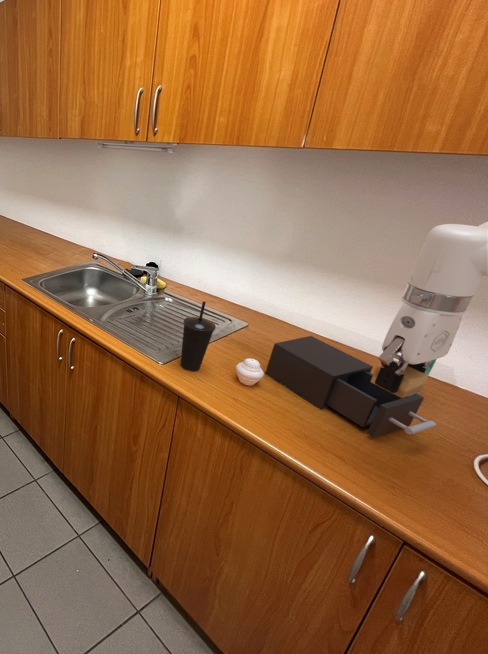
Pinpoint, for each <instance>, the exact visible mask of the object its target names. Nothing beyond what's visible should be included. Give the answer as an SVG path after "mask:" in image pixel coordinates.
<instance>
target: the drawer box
mask: <svg viewBox="0 0 488 654" xmlns="http://www.w3.org/2000/svg"><path fill="white" fill-rule="evenodd" d="M373 367H374V366H373V365H372V364H369V363H367V362H365V361H363V360H361V359H359V358H357V357H355V356H352V355H350V354H348V353H347V352H344V351H342V350H341V349H338V348H337V347H334V346H332V345H330V344H328V343H327V342H325V341H323V340H320V339H319V338H317V337H314V336H312V335H307V336H303V337H298V338H293V339H289V340H284V341H279V342H275V343H274V344H273V347H272V350H271V353H270V357H269V360H268V362H267V365H266V368H265V373H264V375H266V376H268V377H269V378H271V379H272V380H274V381H275V382H277V383H279V384H280V385H282V386H283V387H284V388H286V389H288V390H289V391H291V392H292V393H294V394H296V395H297V396H299V397H300V398H301V399H303V400H305V401H306V402H308V403H309V404H311V405H312V406H315V407H316V408H317V409H319V410H324V409H328V408H331V407H330V406H328V405H327V404H325V402H326V400H327V397H328V395H329V392H330V390H331V387H332V385H333V382H334V380H335V378H338V377H342V376H346V375H350V374H354V373H358V372H362V371H368V372H370V373H372V369H373Z"/></svg>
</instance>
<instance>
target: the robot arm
mask: <svg viewBox="0 0 488 654" xmlns="http://www.w3.org/2000/svg"><path fill="white" fill-rule="evenodd" d="M485 276H488V221H486V222H483V223H481V224H479V225H477V226H476V225H469V224H462V223H461V224H460V223H444V224H438V225H436V226H434V227H432V228H431V229H430V230H429V232H428V234H427V236H426V238H425V241H424V243H423V245H422V248H421V250H420V252H419V255H418V257H417V260H416V262H415V265H414V267H413V270H412V272H411V274H410V276H409V279H408V282H407V284H406V287H405V289H404V291H403V293H402V296H401V299H400V300H401V301H402V302H403V303H402V305H401V306H400V308H399V310H398V311H397V313H396V315H395V317H394V318H393V320H392V322H391V324H390V326H389V328H388V330H387V332H386V335H385V337H384V339H383V342H382V345H381V346H382V347H381V350H382V353H381V354H379V356H378V360H379V361H380V364H379V365H380V367H381V369H380V371H379V373H378V376H377V378H376V380H375V384H376V385H378V386H380V387H382V388H384V389H386V390H388V391H390V392H392V393H396V392H397V391H398V389H399V387H400V384H401V382H402V380H403V378H404V376H405V375H403V374H402V373H403V371H404V370H405V368H406V367H407V366H409V367H411V368H413V369H415V370H418V371H420V372H422V373H425V371H426V369H425V368H427V367H428V366H429V365H430V362H431V360H434V359H440V358H444V357H446V356H447V355H448V354H449V352H450V349H451V348H452V345H453V342H454V340H455V338H456V335H457V332H458V330H459V328H460V324H461V322H462V320H463V319H462V318H463V315H465V313H466V311H467V309H468V307H469V305H470V303H471V301H472V299H473V296H474V294H475V292H476V291H477V288H478V286H479V284H480V283H481V280H482V279H483V277H485ZM399 353H400V354H402V356H403V357H402V356H401V355H399ZM395 359H396V360H397V361H399V360H400V361H402V362H401V363H400V365H399V366H398V364H397V363H396V362H394V361H395ZM423 367H425V368H423Z"/></svg>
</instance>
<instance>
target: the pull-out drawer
mask: <svg viewBox="0 0 488 654" xmlns="http://www.w3.org/2000/svg"><path fill="white" fill-rule="evenodd" d="M373 374H374V373H372V372H368V371H362V372H358V373H354V374H350V375H346V376H342V377H338V378H335V380H334V382H333V385H332V387H331V390H330V392H329V395H328V397H327V400H326V402H325V404H327V405H328V406H330V407H329V408H331V409H333V410H335V411H336V412H338V413H339V414H341V415H343V416H344V417H346V418H347V419H349V420H351V421H352V422H354V423H355V424H357V425H358V426H360V427H362V428H364V427H368V426H369V428H368V430H367V432H366V434H367V435H369V436H370V437H372V438H375V437H378V436H382V435H385V434H387V433H392V432H394V431H398V430H401V429H403V431H404V432H405V434H407V435H409V436H410V435H414V434H417V433H420V432H423V431H427V430H430V429H433V428H436V426H437V423H436V422H435V421H433V420H432V419H431V420H430V419H428V420H427V419H426V418H424V417H423V416H419V414H417V412H418V410H419V409H420V407H421V405H422V403H423V401H424V399H425V396H422V395H420V394H419V395H418V394H416V395H413V396H409V397H406V398H401V397H399V396H397V395H395V394H393V393H391V392H389V391H387V390H385V389H383V388H381V387H379V386H377V385H375V384H373V383H372V382H371V379H372V377H373ZM414 419H416V420H418V421H420V422H418V423H416V424H412V422H413V420H414ZM411 424H412V425H411Z"/></svg>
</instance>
